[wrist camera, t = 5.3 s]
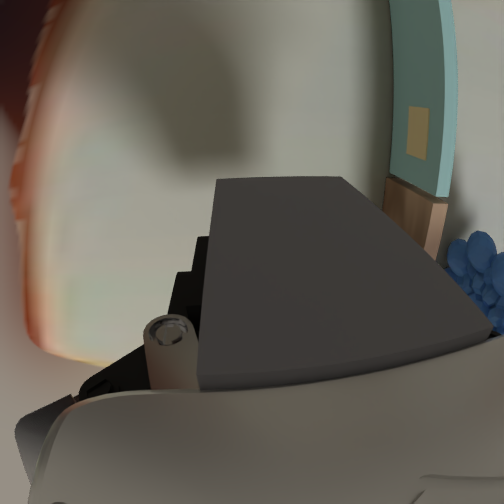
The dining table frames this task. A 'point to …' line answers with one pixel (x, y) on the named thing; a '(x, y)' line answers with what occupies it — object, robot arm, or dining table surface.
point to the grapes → (480, 274)
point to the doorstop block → (319, 288)
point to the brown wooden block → (415, 213)
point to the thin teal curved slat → (424, 93)
